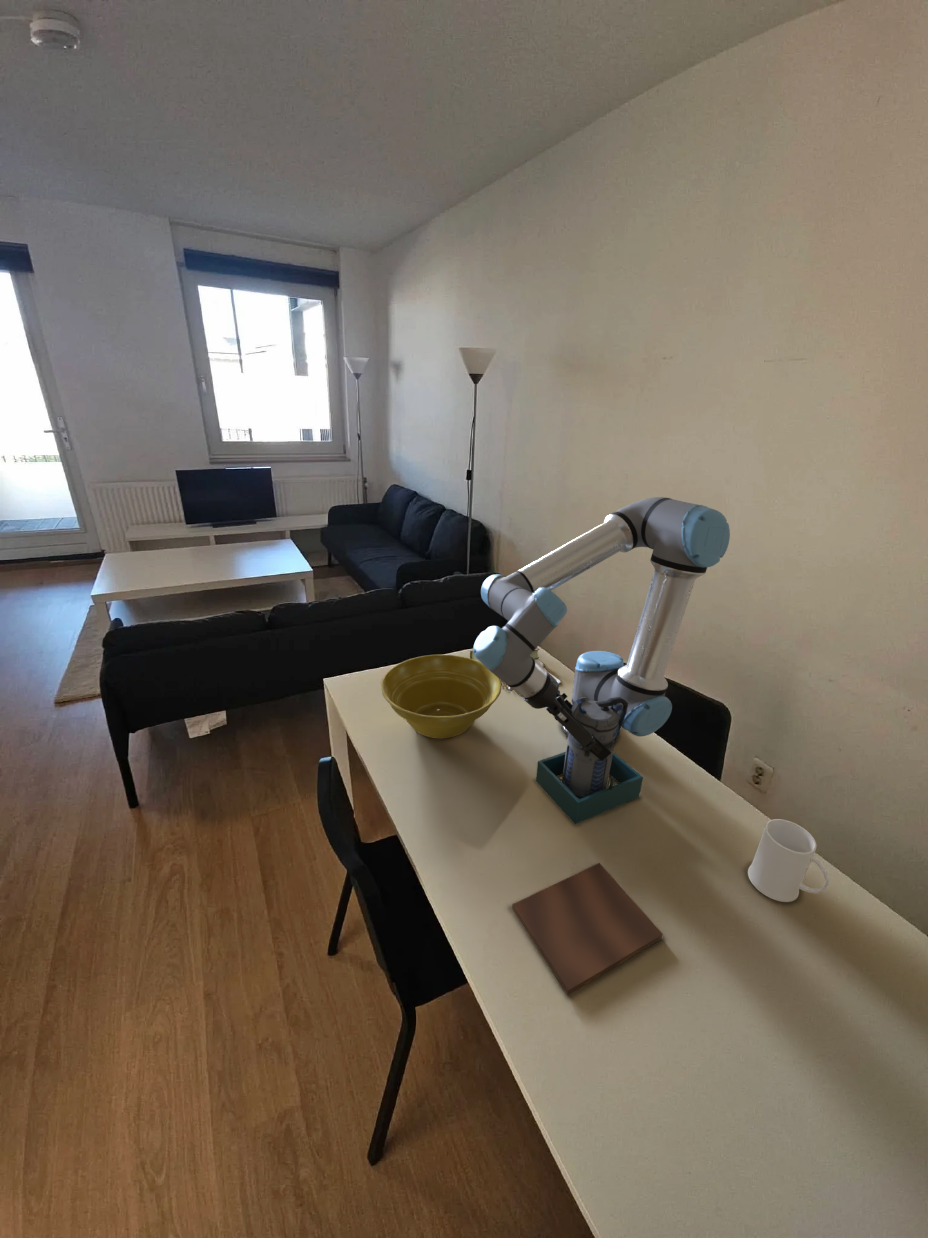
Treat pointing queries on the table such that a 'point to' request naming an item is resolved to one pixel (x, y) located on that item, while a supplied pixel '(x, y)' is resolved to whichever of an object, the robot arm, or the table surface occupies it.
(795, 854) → the mug
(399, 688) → the planter bowl
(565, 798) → the teal open box
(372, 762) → the table surface
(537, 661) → the spoon
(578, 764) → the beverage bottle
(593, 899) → the walnut board
